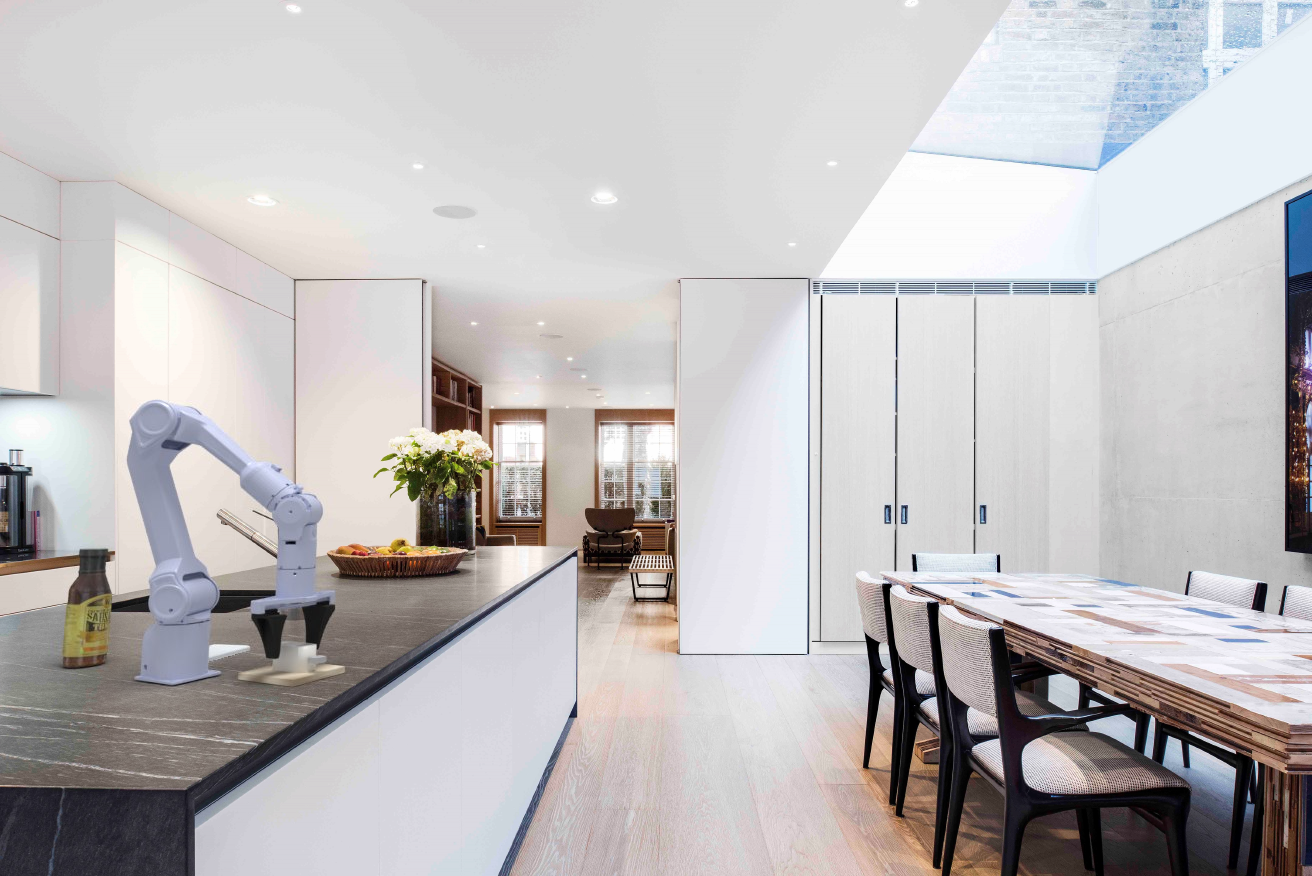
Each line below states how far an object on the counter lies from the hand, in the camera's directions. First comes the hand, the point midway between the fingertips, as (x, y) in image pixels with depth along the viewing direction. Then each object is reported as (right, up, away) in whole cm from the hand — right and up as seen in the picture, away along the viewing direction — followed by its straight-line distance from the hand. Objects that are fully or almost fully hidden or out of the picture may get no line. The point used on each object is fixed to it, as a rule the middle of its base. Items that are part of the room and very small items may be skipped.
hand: (293, 653), depth 119 cm
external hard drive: (-23, -6, +14) cm, 28 cm away
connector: (0, -3, 0) cm, 3 cm away
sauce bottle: (-40, -5, +8) cm, 41 cm away
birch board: (0, -4, 0) cm, 3 cm away
